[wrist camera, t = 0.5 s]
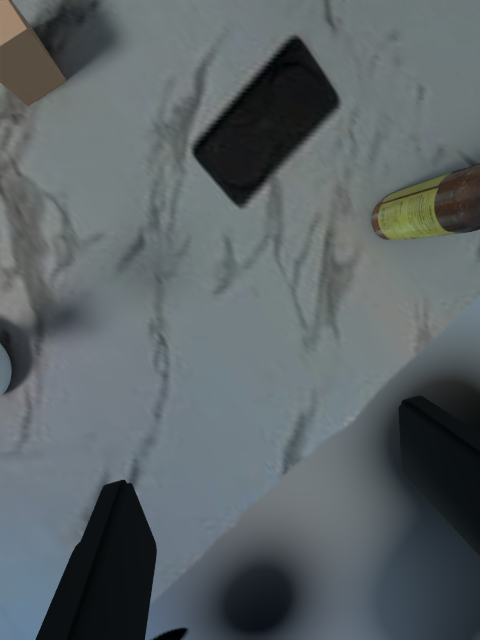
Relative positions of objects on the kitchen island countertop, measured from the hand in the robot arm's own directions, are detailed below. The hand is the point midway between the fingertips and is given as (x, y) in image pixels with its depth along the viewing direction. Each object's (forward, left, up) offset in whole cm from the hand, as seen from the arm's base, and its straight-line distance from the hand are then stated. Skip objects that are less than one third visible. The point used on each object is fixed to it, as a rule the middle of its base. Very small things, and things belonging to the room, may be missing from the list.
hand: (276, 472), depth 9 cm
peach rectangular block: (-26, -18, -29) cm, 44 cm away
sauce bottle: (-11, +25, -29) cm, 40 cm away
